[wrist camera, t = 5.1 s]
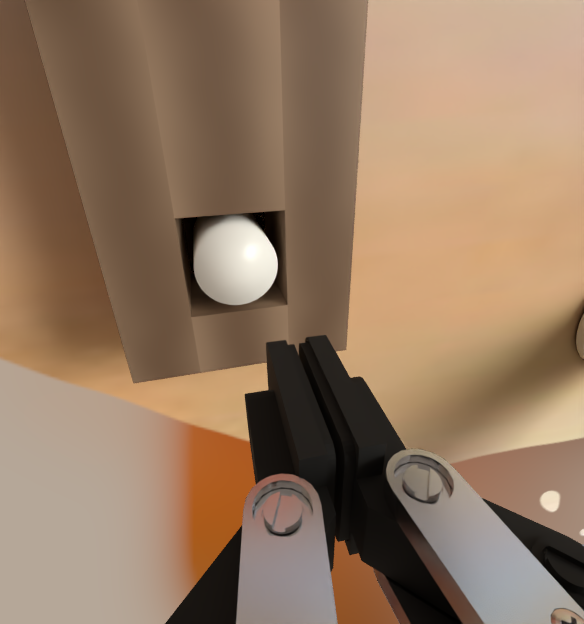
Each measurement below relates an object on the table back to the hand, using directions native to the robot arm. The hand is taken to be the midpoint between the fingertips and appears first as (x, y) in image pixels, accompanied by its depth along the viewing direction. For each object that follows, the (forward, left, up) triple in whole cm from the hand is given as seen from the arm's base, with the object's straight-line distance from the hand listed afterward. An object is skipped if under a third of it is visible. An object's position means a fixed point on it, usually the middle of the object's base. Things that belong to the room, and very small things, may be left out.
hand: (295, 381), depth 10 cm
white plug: (+1, 0, -14) cm, 14 cm away
